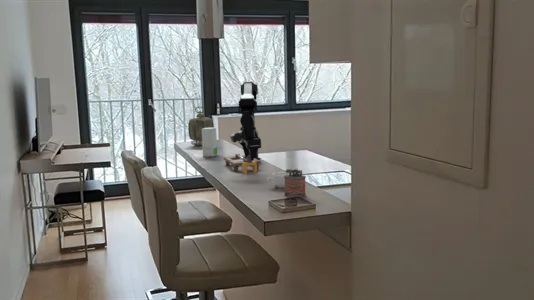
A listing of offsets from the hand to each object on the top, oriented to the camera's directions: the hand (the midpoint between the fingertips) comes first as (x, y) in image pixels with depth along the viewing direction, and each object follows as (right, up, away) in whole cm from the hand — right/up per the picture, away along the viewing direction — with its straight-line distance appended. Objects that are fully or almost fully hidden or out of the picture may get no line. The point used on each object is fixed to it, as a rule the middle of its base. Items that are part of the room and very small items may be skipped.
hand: (249, 158), depth 233 cm
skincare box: (-24, +1, +51) cm, 56 cm away
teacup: (+13, -11, -32) cm, 36 cm away
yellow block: (0, -6, +1) cm, 6 cm away
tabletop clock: (-34, +7, +91) cm, 98 cm away
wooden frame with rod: (-4, -4, +14) cm, 15 cm away
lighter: (+19, -13, -46) cm, 52 cm away
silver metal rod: (-4, 0, +13) cm, 14 cm away
